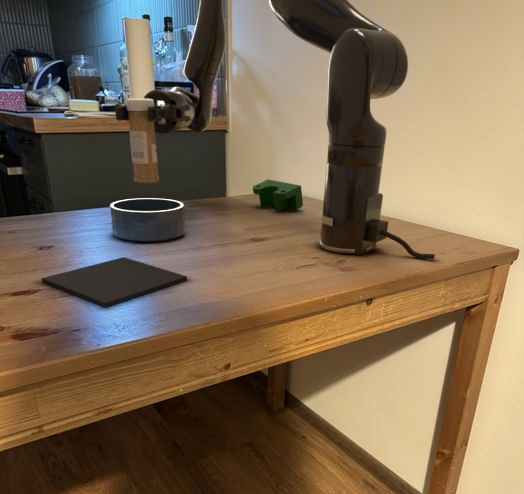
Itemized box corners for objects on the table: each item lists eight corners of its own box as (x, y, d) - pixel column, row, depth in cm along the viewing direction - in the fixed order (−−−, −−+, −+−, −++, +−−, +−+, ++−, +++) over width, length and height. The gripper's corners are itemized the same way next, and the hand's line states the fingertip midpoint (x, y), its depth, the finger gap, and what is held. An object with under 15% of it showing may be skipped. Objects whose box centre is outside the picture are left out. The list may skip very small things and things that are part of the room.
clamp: (261, 224, 123) (246, 189, 121) (278, 215, 126) (263, 181, 124) (291, 213, 114) (275, 175, 111) (308, 204, 117) (293, 167, 114)
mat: (187, 280, 71) (187, 276, 71) (105, 307, 61) (105, 303, 61) (124, 260, 79) (123, 257, 78) (42, 282, 68) (41, 278, 68)
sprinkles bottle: (164, 182, 90) (159, 98, 84) (143, 184, 87) (136, 98, 81) (148, 179, 92) (142, 98, 86) (128, 181, 89) (120, 97, 83)
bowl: (199, 234, 95) (198, 205, 93) (146, 247, 86) (143, 215, 83) (152, 223, 102) (150, 195, 100) (98, 234, 93) (95, 204, 90)
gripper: (129, 89, 96) (90, 86, 81) (201, 90, 95) (176, 88, 80) (132, 131, 100) (96, 136, 84) (202, 133, 98) (178, 139, 83)
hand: (135, 113), depth 82 cm, fingers closed on sprinkles bottle, 4 cm apart
